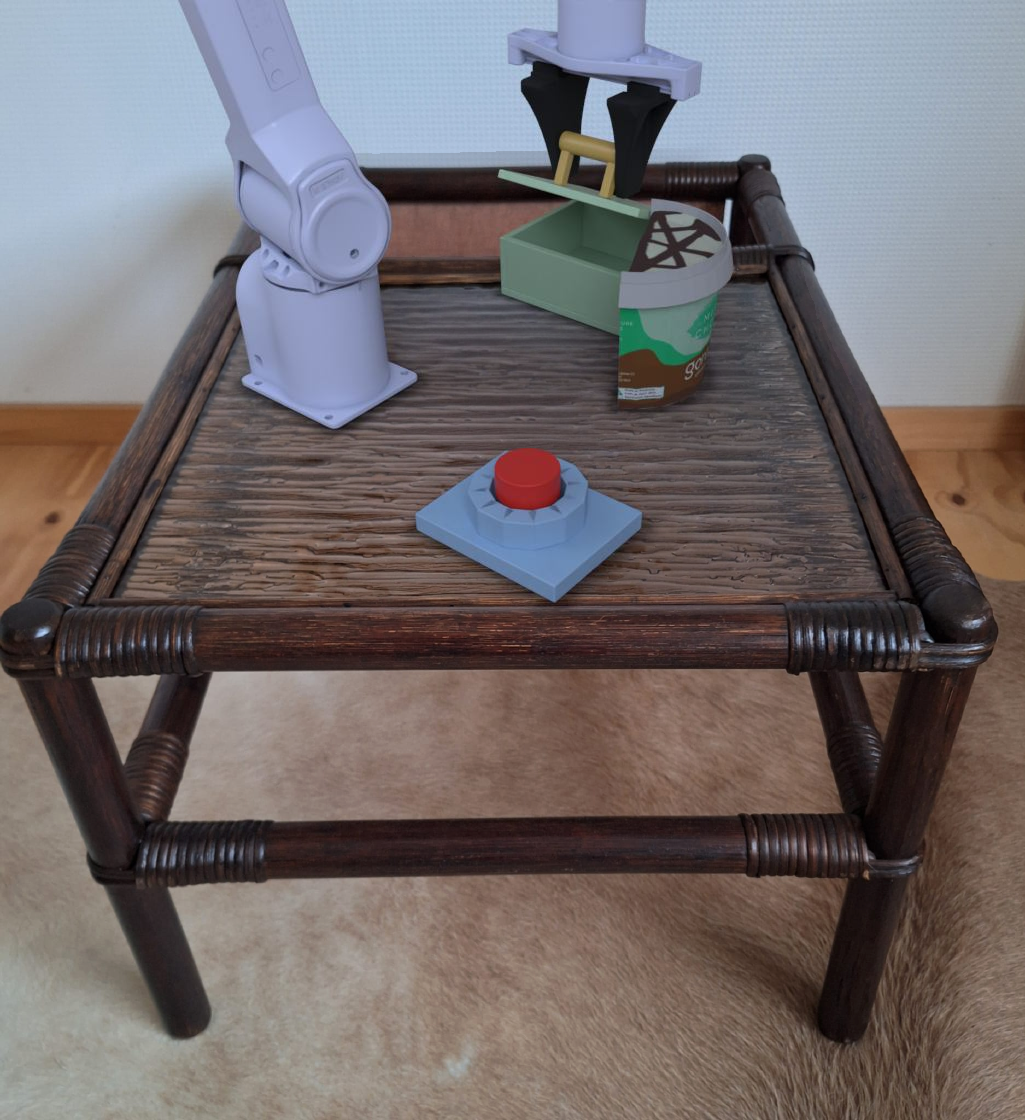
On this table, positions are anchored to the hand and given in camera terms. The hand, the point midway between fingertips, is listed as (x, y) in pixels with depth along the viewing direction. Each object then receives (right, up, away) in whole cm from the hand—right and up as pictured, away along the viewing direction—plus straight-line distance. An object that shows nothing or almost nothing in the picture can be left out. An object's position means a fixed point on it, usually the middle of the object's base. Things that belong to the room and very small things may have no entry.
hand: (597, 185), depth 77 cm
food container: (+5, -14, -4) cm, 16 cm away
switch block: (-5, -25, -16) cm, 30 cm away
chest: (+1, -6, +6) cm, 9 cm away
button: (-5, -23, -18) cm, 29 cm away
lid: (+1, -1, +2) cm, 2 cm away
